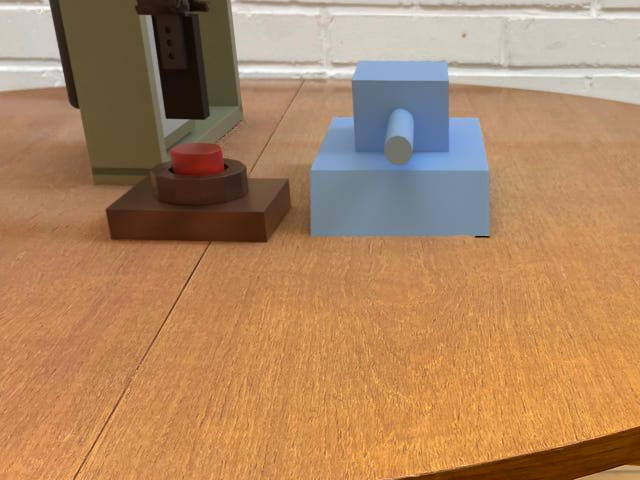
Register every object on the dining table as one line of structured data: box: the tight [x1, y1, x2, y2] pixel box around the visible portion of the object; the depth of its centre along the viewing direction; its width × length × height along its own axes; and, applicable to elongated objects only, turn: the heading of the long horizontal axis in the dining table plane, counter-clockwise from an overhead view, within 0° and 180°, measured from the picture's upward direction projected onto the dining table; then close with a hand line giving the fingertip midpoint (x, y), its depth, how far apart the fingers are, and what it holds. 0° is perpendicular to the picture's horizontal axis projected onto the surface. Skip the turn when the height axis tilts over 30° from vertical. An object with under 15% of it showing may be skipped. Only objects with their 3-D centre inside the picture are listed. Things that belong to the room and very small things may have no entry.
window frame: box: [59, 0, 244, 186], centre depth 87 cm, size 6×28×18 cm, turn 179°
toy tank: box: [309, 60, 491, 237], centre depth 76 cm, size 22×9×13 cm
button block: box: [105, 157, 292, 243], centre depth 70 cm, size 11×9×4 cm
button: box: [170, 143, 225, 175], centre depth 69 cm, size 4×4×2 cm
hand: (188, 116), depth 68 cm, fingers closed
